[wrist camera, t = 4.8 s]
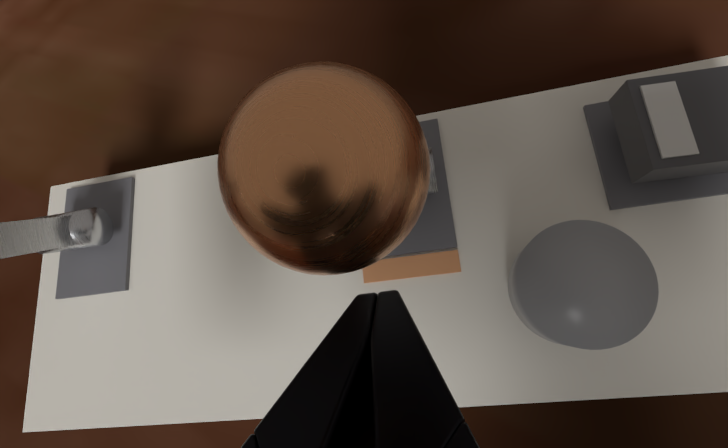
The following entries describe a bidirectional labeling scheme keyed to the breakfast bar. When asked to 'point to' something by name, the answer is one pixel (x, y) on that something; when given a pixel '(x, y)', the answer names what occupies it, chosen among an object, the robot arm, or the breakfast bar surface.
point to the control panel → (379, 278)
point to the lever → (56, 232)
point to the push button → (584, 285)
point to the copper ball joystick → (324, 168)
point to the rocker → (673, 124)
